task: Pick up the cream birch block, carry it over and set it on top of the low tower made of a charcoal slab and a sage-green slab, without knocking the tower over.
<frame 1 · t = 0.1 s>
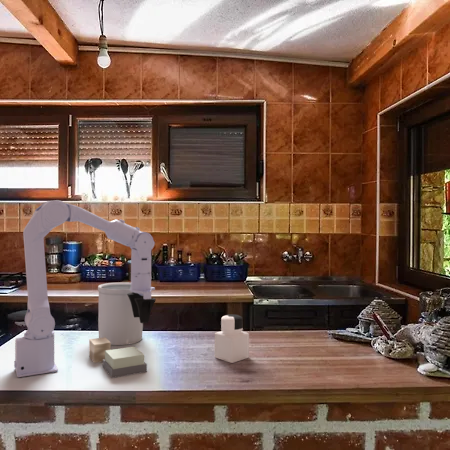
hand: (140, 319, 128), 10 cm above the table, tool pointing down, fingers open, 7 cm apart
tower top: (124, 362, 116), point 2 cm above the table, touching tower base
birch block: (99, 358, 125), on the table
tower base: (124, 371, 116), on the table, touching tower top
utensil holder: (121, 339, 144), on the table
medicine bottle: (231, 358, 126), on the table
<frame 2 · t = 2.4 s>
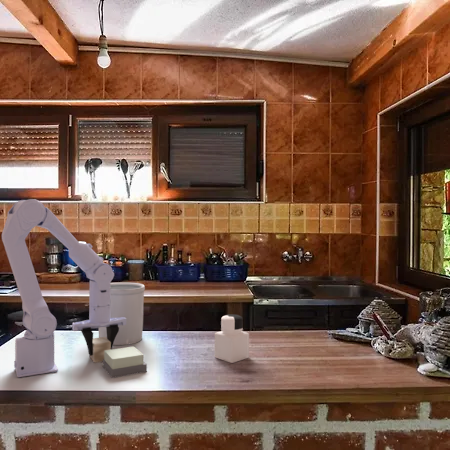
hand: (99, 353, 125), 1 cm above the table, tool pointing down, fingers closed on birch block, 4 cm apart
birch block: (99, 358, 125), on the table, touching gripper
everything else where it was.
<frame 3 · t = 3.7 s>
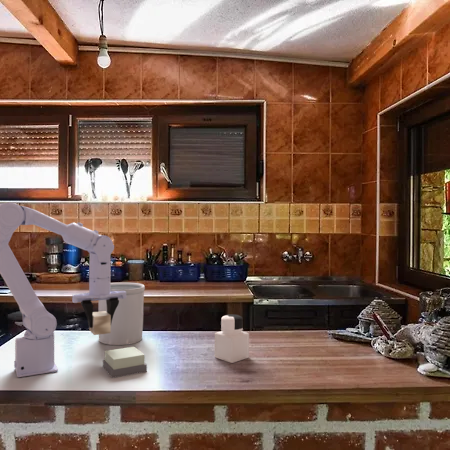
hand: (99, 325, 124), 9 cm above the table, tool pointing down, fingers closed on birch block, 4 cm apart
birch block: (99, 331, 124), point 8 cm above the table, touching gripper
everything else where it was.
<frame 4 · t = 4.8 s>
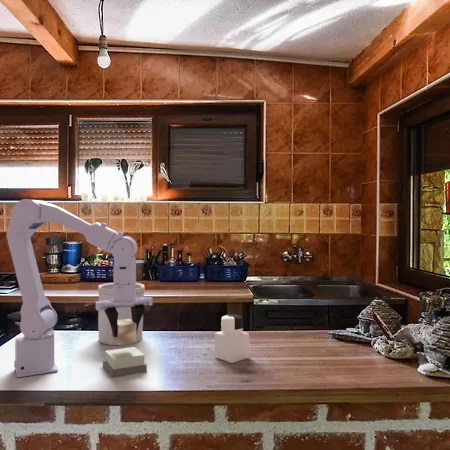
hand: (124, 335, 116), 9 cm above the table, tool pointing down, fingers closed on birch block, 4 cm apart
tower top: (124, 362, 116), point 2 cm above the table
birch block: (124, 341, 116), point 7 cm above the table, touching gripper
tower base: (124, 371, 116), on the table
everything else where it was.
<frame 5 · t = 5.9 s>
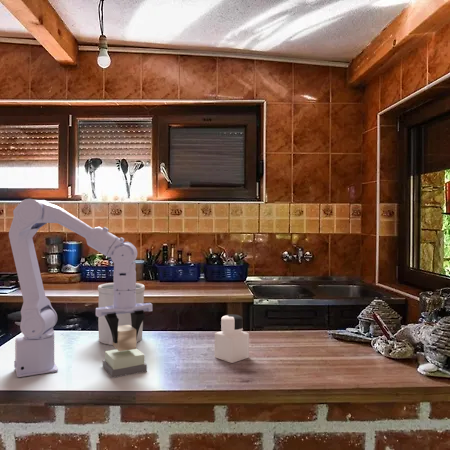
hand: (124, 341, 116), 7 cm above the table, tool pointing down, fingers closed on birch block, 4 cm apart
tower top: (124, 362, 116), point 2 cm above the table, touching tower base
birch block: (124, 347, 116), point 6 cm above the table, touching gripper
tower base: (124, 371, 116), on the table, touching tower top
everything else where it was.
when the fingers open (7 cm above the table, at t = 6.2 s): birch block drops 1 cm, resting on tower top.
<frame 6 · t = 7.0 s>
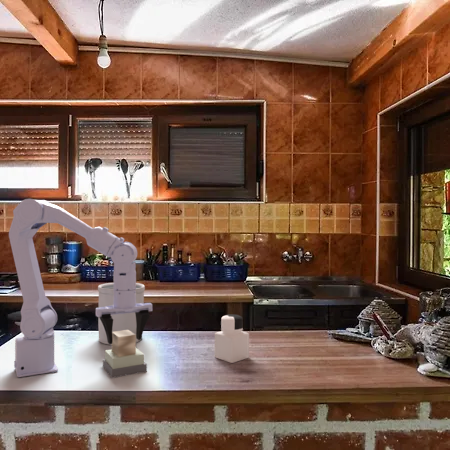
hand: (124, 341, 116), 7 cm above the table, tool pointing down, fingers open, 7 cm apart
tower top: (124, 361, 116), point 2 cm above the table, touching birch block
birch block: (123, 352, 116), point 4 cm above the table, touching tower top
tower base: (124, 371, 116), on the table
everything else where it was.
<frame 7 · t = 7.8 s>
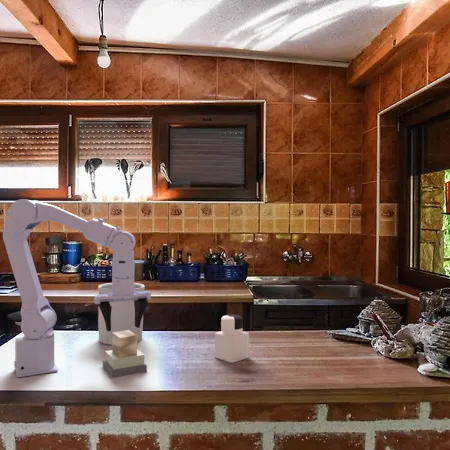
hand: (123, 328, 117), 10 cm above the table, tool pointing down, fingers open, 7 cm apart
tower top: (124, 362, 116), point 2 cm above the table, touching tower base
birch block: (124, 352, 116), point 4 cm above the table
tower base: (124, 371, 116), on the table, touching tower top
everything else where it was.
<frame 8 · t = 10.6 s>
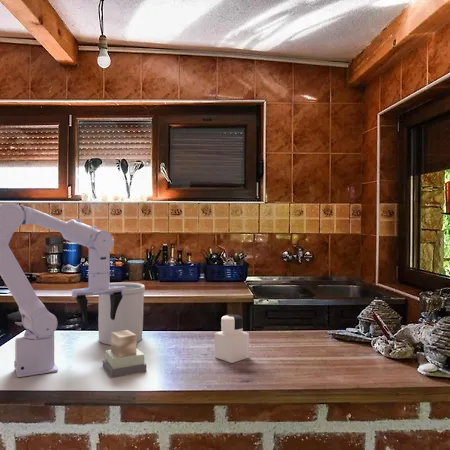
hand: (99, 320, 125), 10 cm above the table, tool pointing down, fingers open, 7 cm apart
tower top: (124, 361, 116), point 2 cm above the table, touching birch block, tower base
birch block: (123, 352, 116), point 4 cm above the table, touching tower top
everything else where it was.
at the end: birch block 0.4 cm off-centre on the tower top, point 2.5 cm above the tower top's base; birch block tilted 1°; tower top 0.2 cm from the tower base (horizontally) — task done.
